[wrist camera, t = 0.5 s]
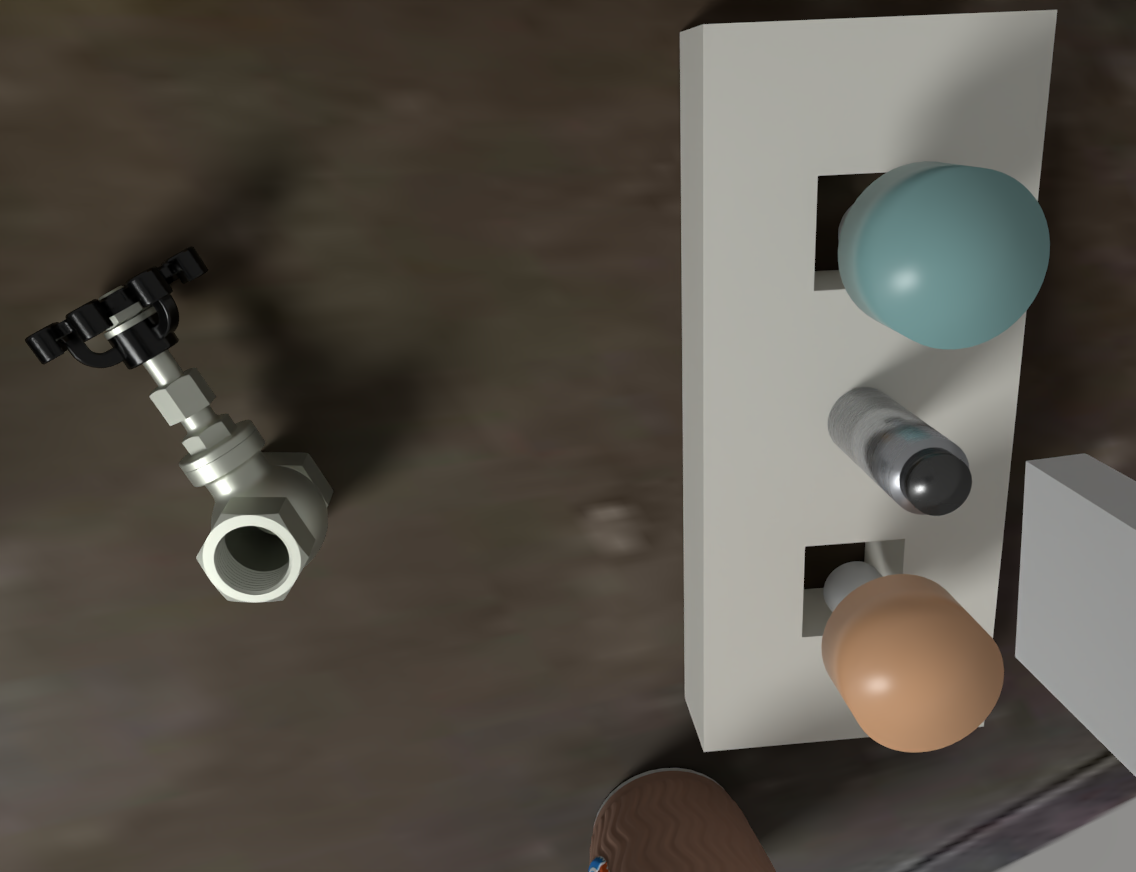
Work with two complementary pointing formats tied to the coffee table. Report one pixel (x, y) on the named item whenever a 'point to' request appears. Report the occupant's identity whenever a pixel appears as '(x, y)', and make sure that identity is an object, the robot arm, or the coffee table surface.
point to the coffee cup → (674, 827)
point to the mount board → (827, 339)
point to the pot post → (900, 452)
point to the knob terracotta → (907, 658)
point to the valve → (207, 438)
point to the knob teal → (944, 252)
